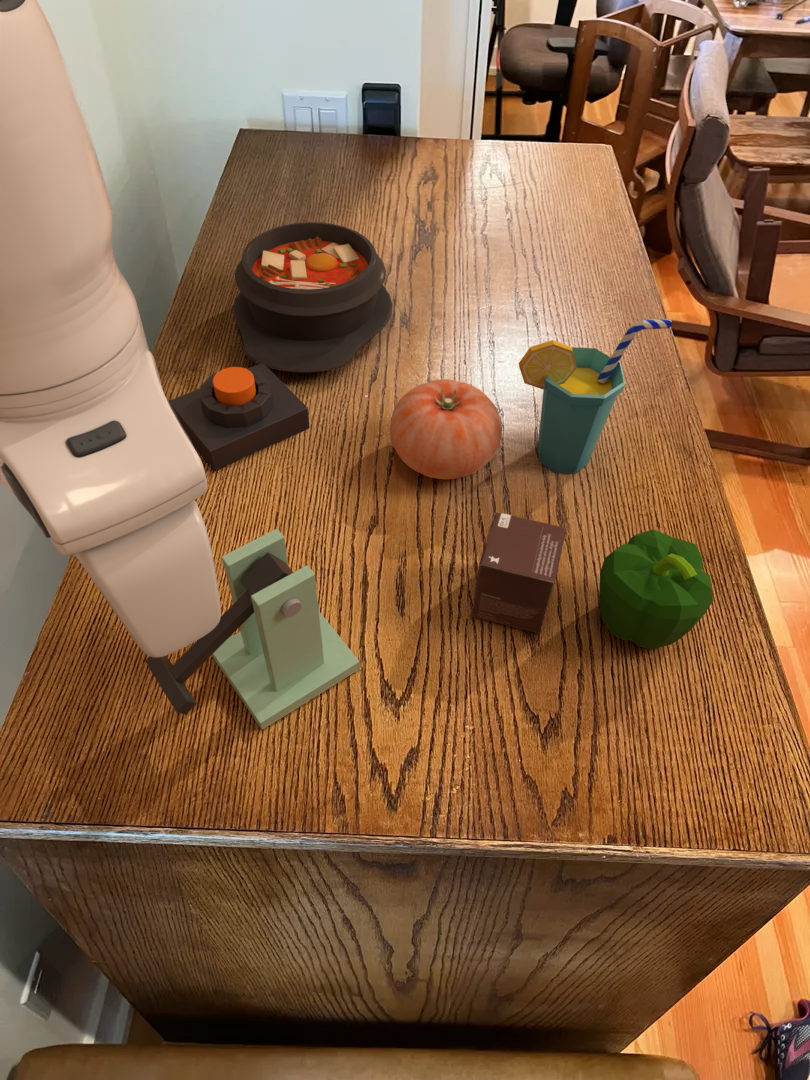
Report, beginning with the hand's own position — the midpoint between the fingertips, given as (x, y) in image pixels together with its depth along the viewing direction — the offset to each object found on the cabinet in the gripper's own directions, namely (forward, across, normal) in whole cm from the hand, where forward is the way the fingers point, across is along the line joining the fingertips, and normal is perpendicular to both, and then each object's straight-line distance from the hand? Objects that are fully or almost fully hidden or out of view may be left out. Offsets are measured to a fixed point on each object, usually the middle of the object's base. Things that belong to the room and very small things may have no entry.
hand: (126, 573), depth 44 cm
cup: (+18, -4, +45) cm, 48 cm away
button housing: (+18, -27, +20) cm, 38 cm away
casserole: (+18, -38, +36) cm, 55 cm away
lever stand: (+18, 0, +9) cm, 20 cm away
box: (+18, +6, +28) cm, 34 cm away
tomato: (+18, -11, +34) cm, 40 cm away
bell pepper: (+18, +14, +35) cm, 42 cm away
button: (+14, -27, +20) cm, 36 cm away
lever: (+10, 0, +5) cm, 12 cm away
